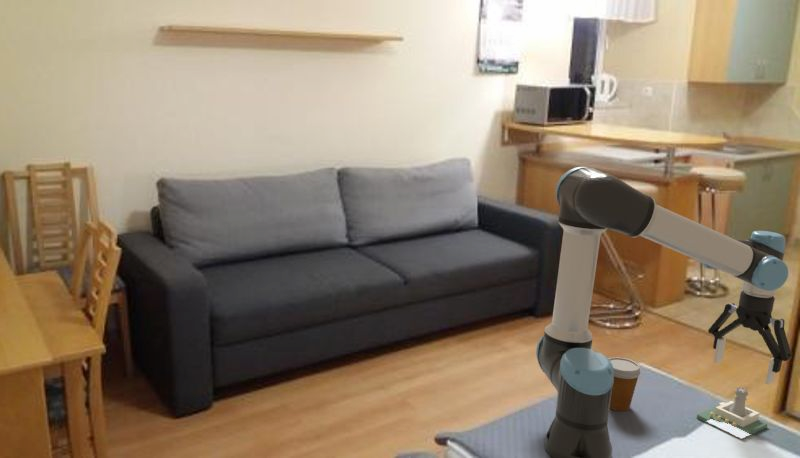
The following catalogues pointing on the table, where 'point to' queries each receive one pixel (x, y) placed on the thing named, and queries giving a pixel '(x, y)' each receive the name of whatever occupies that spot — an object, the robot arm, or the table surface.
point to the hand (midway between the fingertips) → (742, 372)
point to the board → (734, 418)
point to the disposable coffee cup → (623, 382)
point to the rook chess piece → (739, 402)
